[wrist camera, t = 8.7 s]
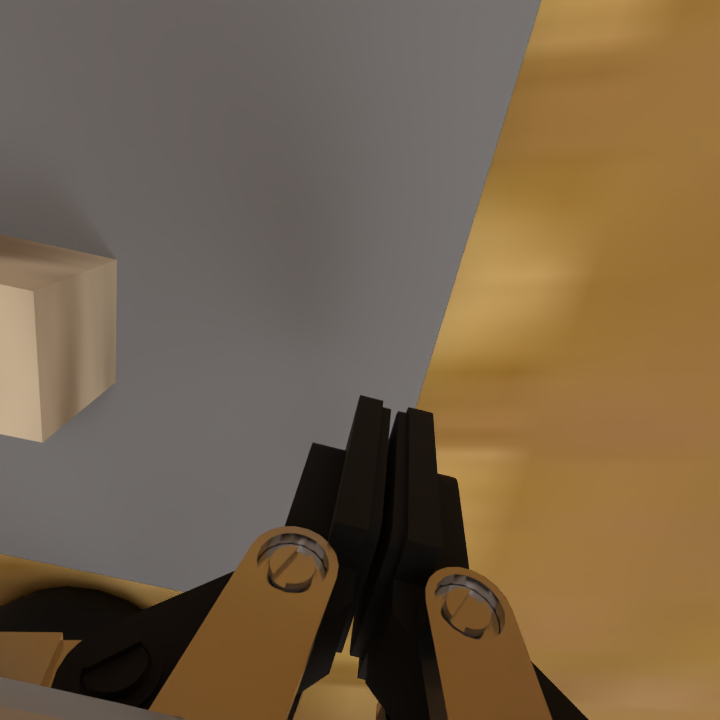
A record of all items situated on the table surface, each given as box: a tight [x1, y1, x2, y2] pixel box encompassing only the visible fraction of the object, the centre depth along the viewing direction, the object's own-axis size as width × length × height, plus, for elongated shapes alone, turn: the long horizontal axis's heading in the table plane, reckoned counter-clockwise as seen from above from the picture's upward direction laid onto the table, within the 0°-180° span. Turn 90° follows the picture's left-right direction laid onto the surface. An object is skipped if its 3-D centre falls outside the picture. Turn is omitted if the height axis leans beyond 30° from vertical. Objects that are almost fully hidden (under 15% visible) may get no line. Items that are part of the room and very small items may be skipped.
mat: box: [0, 0, 541, 592], centre depth 16 cm, size 26×24×3 cm
